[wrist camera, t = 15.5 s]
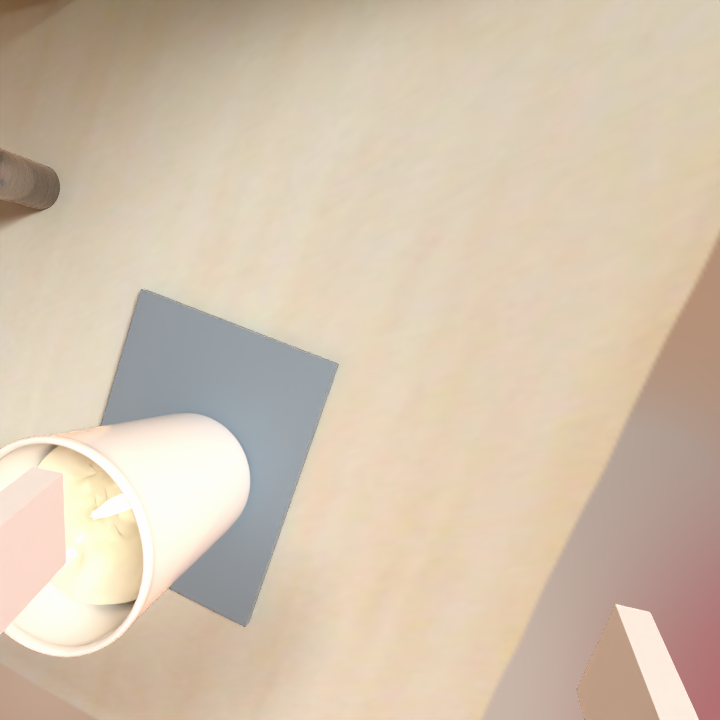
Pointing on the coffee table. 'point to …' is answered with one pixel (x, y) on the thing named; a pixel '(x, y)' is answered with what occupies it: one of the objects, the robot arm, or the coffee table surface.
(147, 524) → the candle holder
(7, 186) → the spacer posts
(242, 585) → the mat
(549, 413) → the coffee table surface
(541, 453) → the coffee table surface
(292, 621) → the coffee table surface
